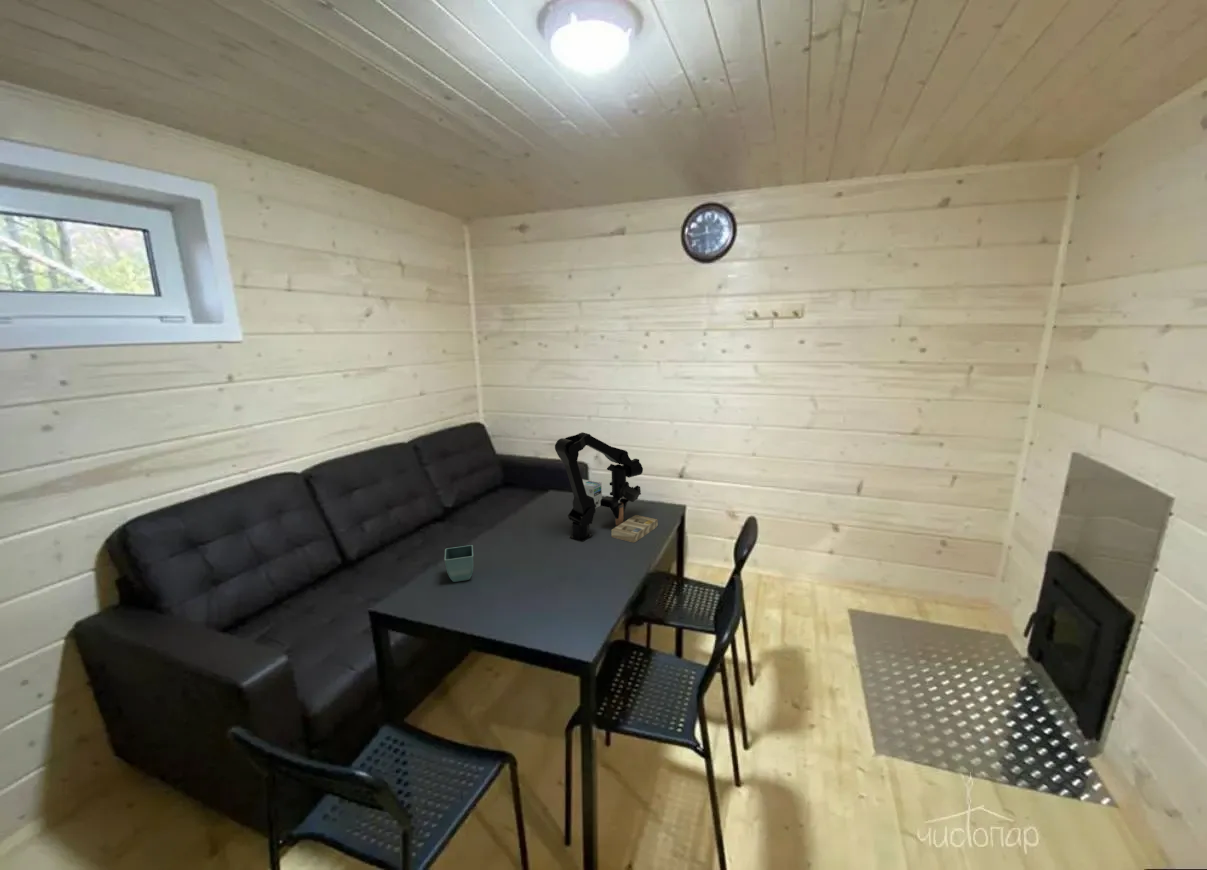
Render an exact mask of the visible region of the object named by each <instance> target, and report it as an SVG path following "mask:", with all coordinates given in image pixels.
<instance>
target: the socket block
mask: <svg viewBox="0 0 1207 870" xmlns="http://www.w3.org/2000/svg"><path fill="white" fill-rule="evenodd" d="M658 523H659V521H658V519H657V518H651V517H647V516H643V515H638V514H635V515H633V516H632V517H629V518H628V519H627V520H624V522H623V523H622V524H620V525H618V526H615V527H613V528H612V529H611V538H614V539H617V540H622V541H625V542H630V543H634V544H635V543H636V542H638V541H639V540H640V539H643V537H646V535H648V534H649V533H651V532H652V531H653V530H655V529H656V528H657V527H658Z"/></svg>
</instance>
